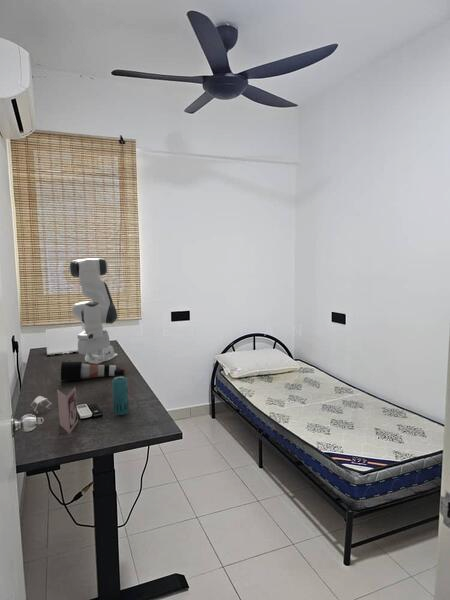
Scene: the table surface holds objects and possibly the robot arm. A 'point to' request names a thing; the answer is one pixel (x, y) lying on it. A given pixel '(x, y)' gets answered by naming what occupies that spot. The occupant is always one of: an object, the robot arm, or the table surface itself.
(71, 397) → the greeting card
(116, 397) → the beverage bottle
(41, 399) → the origami figure
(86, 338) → the robot arm
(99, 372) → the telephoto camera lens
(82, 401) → the table surface
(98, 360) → the usb plug
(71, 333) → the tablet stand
